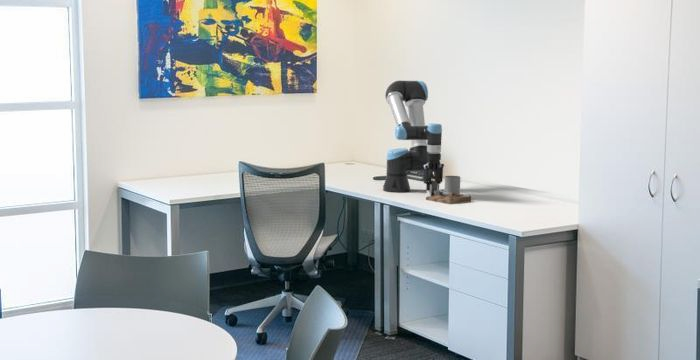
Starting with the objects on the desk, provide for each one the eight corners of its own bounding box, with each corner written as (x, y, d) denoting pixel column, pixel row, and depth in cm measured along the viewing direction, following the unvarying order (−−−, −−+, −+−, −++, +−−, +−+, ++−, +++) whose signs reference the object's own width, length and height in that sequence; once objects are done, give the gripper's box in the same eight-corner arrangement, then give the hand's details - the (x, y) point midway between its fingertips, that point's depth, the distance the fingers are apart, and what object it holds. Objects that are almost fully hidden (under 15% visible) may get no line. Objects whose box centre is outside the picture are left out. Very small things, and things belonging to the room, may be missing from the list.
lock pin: (426, 195, 481) (427, 180, 480) (432, 194, 483) (433, 180, 482) (447, 199, 469) (447, 184, 467) (453, 198, 471) (453, 183, 470)
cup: (441, 194, 491) (441, 176, 489) (452, 193, 496) (452, 175, 494) (451, 196, 484) (452, 178, 483) (462, 195, 489) (463, 177, 488)
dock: (426, 199, 471) (426, 192, 471) (447, 197, 481) (448, 189, 481) (448, 204, 458) (448, 196, 458) (470, 201, 468) (470, 193, 467)
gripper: (426, 154, 469) (425, 198, 472) (450, 152, 480) (449, 195, 483) (417, 152, 475) (415, 196, 478) (440, 151, 486) (439, 193, 489)
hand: (432, 195), depth 480 cm, fingers closed on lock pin, 4 cm apart
